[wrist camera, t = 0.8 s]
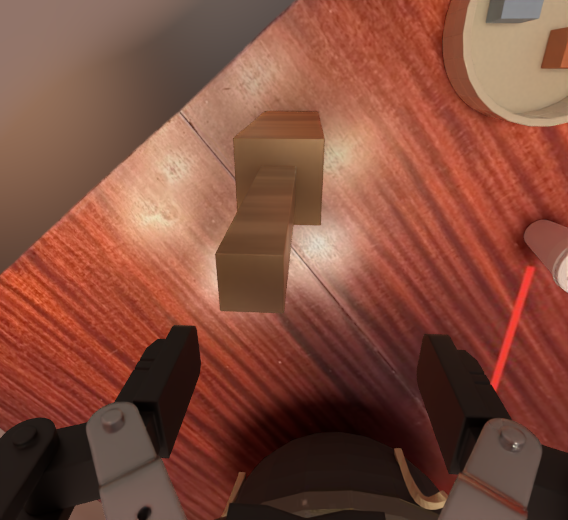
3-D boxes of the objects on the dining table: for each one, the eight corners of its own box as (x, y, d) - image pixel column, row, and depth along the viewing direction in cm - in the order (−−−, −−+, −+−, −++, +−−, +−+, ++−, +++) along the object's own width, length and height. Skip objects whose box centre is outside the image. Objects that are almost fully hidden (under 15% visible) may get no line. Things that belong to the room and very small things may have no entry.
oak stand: (264, 111, 43) (233, 137, 25) (318, 111, 43) (324, 138, 25) (265, 164, 46) (237, 223, 28) (316, 165, 45) (320, 225, 27)
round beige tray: (461, -84, 35) (489, -113, 29) (662, -88, 34) (728, -119, 28) (429, 119, 42) (446, 125, 37) (592, 120, 41) (634, 127, 36)
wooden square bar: (261, 165, 26) (214, 253, 13) (296, 166, 26) (284, 255, 13) (261, 200, 27) (219, 311, 14) (296, 200, 27) (284, 313, 14)
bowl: (270, 526, 78) (258, 661, 60) (203, 402, 64) (161, 531, 46) (449, 504, 71) (496, 648, 53) (419, 360, 57) (469, 492, 39)
